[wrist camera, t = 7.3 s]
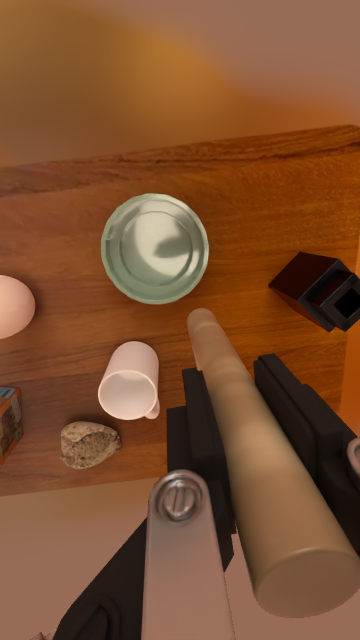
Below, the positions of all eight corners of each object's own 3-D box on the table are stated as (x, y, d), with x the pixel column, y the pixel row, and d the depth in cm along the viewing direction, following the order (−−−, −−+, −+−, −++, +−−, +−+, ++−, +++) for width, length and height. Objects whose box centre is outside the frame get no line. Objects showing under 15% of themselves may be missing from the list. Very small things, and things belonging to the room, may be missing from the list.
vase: (299, 251, 42) (356, 261, 29) (326, 280, 43) (390, 300, 31) (267, 284, 43) (308, 307, 31) (295, 310, 45) (344, 341, 33)
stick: (199, 302, 17) (318, 533, 4) (221, 320, 18) (388, 577, 5) (180, 323, 18) (230, 598, 5) (201, 340, 18) (304, 631, 5)
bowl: (149, 176, 37) (146, 166, 31) (221, 244, 41) (230, 246, 35) (91, 254, 40) (79, 258, 34) (162, 311, 44) (162, 323, 38)
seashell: (121, 438, 55) (127, 417, 49) (117, 475, 50) (123, 457, 44) (65, 434, 53) (64, 412, 46) (55, 473, 48) (51, 454, 41)
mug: (177, 383, 48) (180, 422, 39) (138, 402, 49) (132, 445, 40) (143, 331, 45) (137, 360, 35) (102, 353, 46) (85, 387, 36)
